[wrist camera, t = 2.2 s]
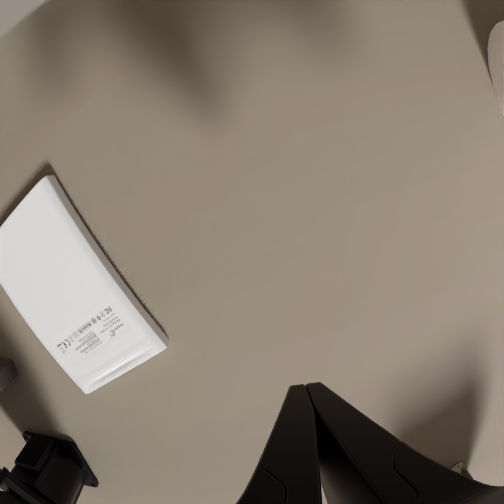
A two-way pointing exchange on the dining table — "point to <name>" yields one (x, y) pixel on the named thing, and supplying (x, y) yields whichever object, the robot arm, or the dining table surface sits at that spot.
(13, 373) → the grey door handle
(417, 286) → the dining table surface
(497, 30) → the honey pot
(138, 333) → the external hard drive
